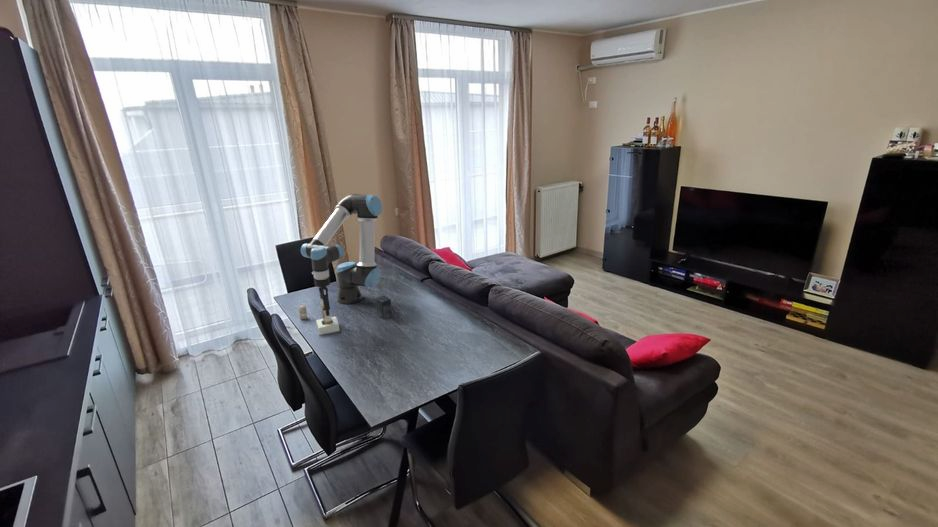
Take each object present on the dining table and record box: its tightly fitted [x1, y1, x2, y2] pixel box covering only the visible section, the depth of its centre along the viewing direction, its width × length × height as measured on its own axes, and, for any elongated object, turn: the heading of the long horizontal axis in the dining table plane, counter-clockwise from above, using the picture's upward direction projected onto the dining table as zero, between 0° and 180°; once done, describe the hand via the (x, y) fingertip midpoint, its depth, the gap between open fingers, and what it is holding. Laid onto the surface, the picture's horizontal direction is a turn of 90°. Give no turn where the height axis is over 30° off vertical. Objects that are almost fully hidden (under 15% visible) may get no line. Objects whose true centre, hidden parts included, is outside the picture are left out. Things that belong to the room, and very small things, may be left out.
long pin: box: [320, 304, 331, 325], centre depth 214 cm, size 4×4×14 cm
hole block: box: [315, 316, 340, 336], centre depth 215 cm, size 10×10×4 cm
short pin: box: [298, 305, 308, 320], centre depth 227 cm, size 4×4×7 cm
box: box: [374, 295, 393, 320], centre depth 229 cm, size 8×6×11 cm
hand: (326, 315), depth 213 cm, fingers open, 13 cm apart
